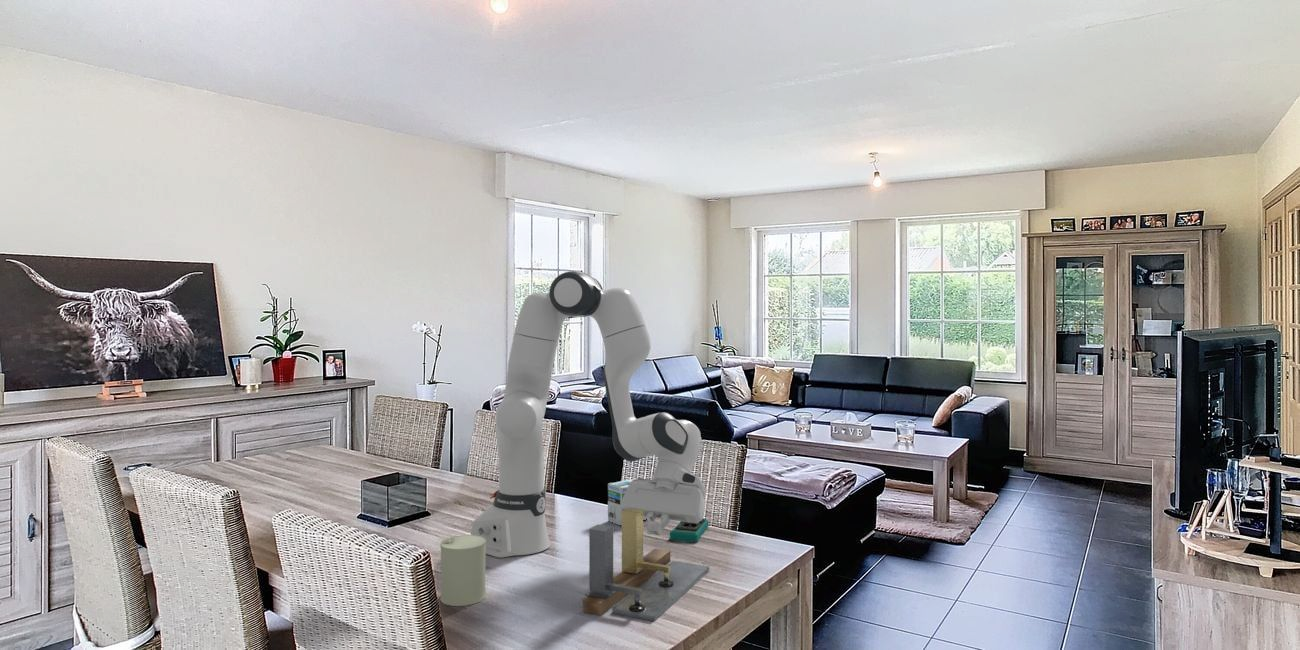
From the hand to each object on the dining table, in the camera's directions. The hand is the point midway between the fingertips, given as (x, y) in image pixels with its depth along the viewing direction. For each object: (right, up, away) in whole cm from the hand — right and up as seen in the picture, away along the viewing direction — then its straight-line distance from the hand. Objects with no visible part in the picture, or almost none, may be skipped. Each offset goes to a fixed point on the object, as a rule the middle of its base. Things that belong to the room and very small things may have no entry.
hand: (653, 533), depth 169 cm
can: (-39, -9, -17) cm, 44 cm away
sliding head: (-1, -7, -11) cm, 13 cm away
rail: (-5, -8, -10) cm, 14 cm away
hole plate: (+2, -8, -14) cm, 16 cm away
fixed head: (-8, -7, -23) cm, 25 cm away
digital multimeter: (+10, -8, +26) cm, 29 cm away
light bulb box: (-7, -7, +38) cm, 39 cm away
